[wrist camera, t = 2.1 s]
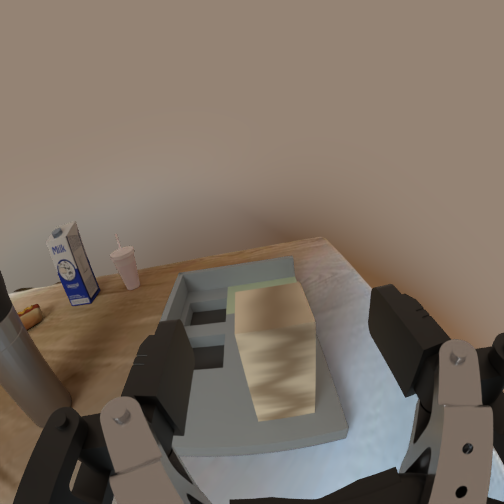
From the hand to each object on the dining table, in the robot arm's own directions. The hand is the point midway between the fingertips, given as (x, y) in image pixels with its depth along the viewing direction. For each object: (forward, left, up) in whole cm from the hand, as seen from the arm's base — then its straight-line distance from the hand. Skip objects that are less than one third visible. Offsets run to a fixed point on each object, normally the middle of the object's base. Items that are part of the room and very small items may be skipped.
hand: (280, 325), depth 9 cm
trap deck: (-12, +19, -22) cm, 31 cm away
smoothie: (-47, +35, -22) cm, 63 cm away
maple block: (-4, +10, -20) cm, 22 cm away
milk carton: (-59, +27, -22) cm, 69 cm away
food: (-69, +9, -22) cm, 73 cm away
